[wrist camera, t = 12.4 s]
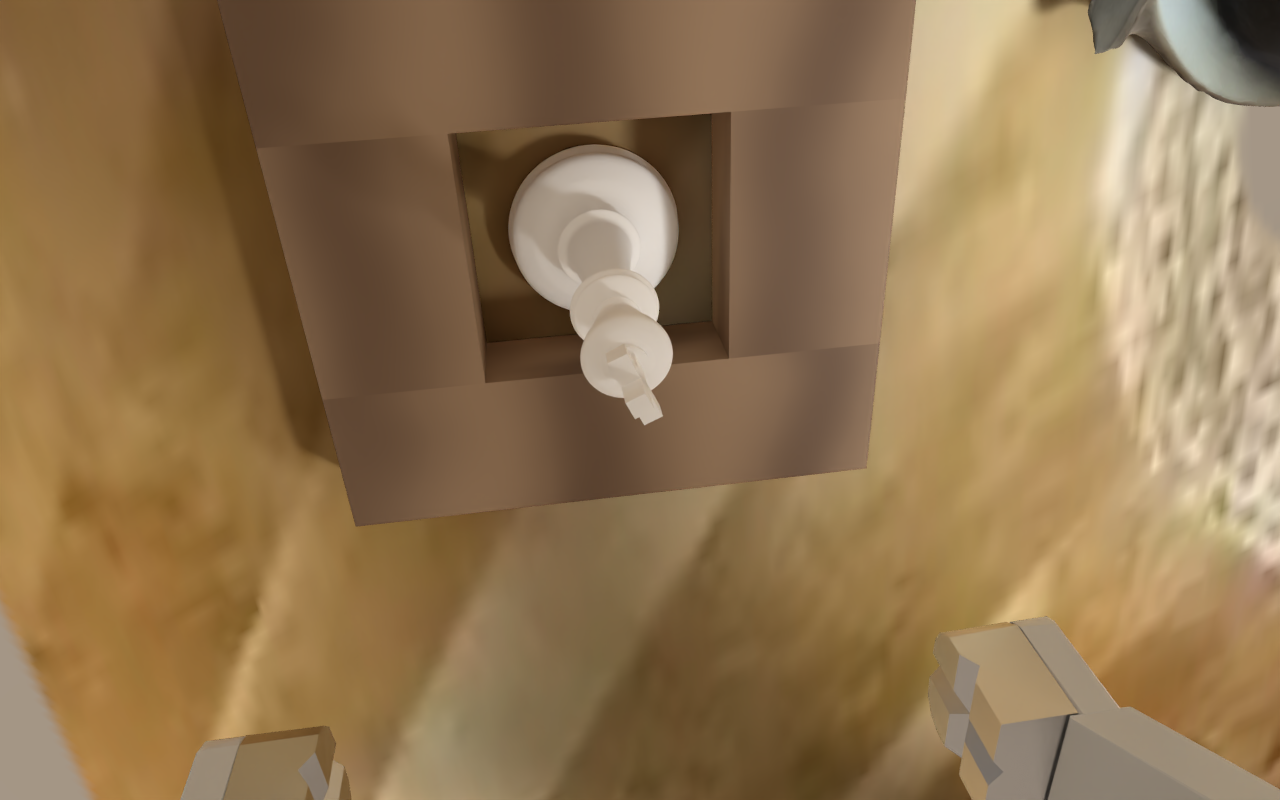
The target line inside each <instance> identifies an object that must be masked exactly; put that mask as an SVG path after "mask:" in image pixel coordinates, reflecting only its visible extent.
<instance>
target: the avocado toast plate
mask: <svg viewBox="0 0 1280 800" xmlns="http://www.w3.org/2000/svg"><path fill="white" fill-rule="evenodd" d="M1088 16H1089V19H1090V22H1091V26H1092V30H1093V42H1094V47H1095V54H1097V53H1103V52H1105V51H1108V50H1110V49H1114V48H1118V47H1120V46H1121V45H1122V44H1123V42H1124V41H1125V39H1126V38H1127V37H1128V35H1130V34H1136V35H1138V36H1140V37H1141V38H1143V39H1144V40H1145V41H1147V42H1148V43H1149V44H1150V45H1151V46H1152V47H1153V48H1154V49H1155V50H1156V51H1157V52H1158V54H1159V55H1160V56H1161V57H1162V58H1163V59H1164V61H1165V62H1166V63H1167V64H1168V65H1169V66H1170V67H1172V68H1173V69H1174V70H1175V71H1176V72H1177V74H1178V75H1179V76H1180V77H1181V78H1182V79H1183V80H1184V81H1186V82H1187V83H1189V84H1190V85H1192V86H1193V87H1194V88H1195V89H1196V90H1198V91H1204V92H1205V93H1207V94H1208V95H1210V96H1211V97H1213V98H1215V99H1217V100H1220V101H1223V102H1225V103H1231V104H1237V105H1246V106H1265V107H1274V106H1280V0H1091V2H1090V4H1089V9H1088Z"/></svg>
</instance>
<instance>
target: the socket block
mask: <svg viewBox="0 0 1280 800" xmlns="http://www.w3.org/2000/svg"><path fill="white" fill-rule="evenodd" d="M217 2H218V6H219V10H220V13H221V17H222V21H223V25H224V28H225V32H226V36H227V40H228V44H229V47H230V51H231V55H232V59H233V63H234V66H235V70H236V74H237V78H238V82H239V85H240V89H241V93H242V97H243V101H244V104H245V108H246V112H247V116H248V120H249V123H250V127H251V131H252V135H253V138H254V142H255V146H256V150H257V154H258V157H259V161H260V165H261V169H262V173H263V176H264V180H265V184H266V188H267V192H268V195H269V199H270V203H271V207H272V211H273V214H274V218H275V222H276V226H277V230H278V233H279V237H280V241H281V245H282V249H283V252H284V256H285V260H286V264H287V267H288V271H289V275H290V279H291V283H292V286H293V290H294V294H295V298H296V302H297V305H298V309H299V313H300V317H301V321H302V324H303V328H304V332H305V336H306V340H307V343H308V347H309V351H310V355H311V359H312V362H313V366H314V370H315V374H316V377H317V381H318V385H319V389H320V393H321V396H322V400H323V404H324V408H325V412H326V415H327V419H328V423H329V427H330V431H331V434H332V438H333V442H334V446H335V450H336V453H337V457H338V461H339V465H340V469H341V472H342V476H343V480H344V484H345V487H346V491H347V495H348V499H349V503H350V506H351V510H352V514H353V518H354V522H355V525H356V526H365V525H374V524H382V523H391V522H400V521H409V520H418V519H426V518H435V517H444V516H453V515H461V514H470V513H479V512H488V511H496V510H505V509H514V508H523V507H532V506H540V505H549V504H558V503H567V502H575V501H584V500H593V499H602V498H610V497H619V496H628V495H637V494H646V493H654V492H663V491H672V490H681V489H689V488H698V487H707V486H716V485H724V484H733V483H742V482H751V481H759V480H768V479H777V478H786V477H795V476H803V475H812V474H821V473H830V472H838V471H847V470H856V469H865V468H867V458H868V449H869V439H870V430H871V420H872V411H873V401H874V392H875V383H876V373H877V364H878V354H879V345H880V335H881V326H882V316H883V307H884V298H885V288H886V279H887V269H888V260H889V250H890V241H891V231H892V222H893V213H894V203H895V194H896V184H897V175H898V165H899V156H900V146H901V137H902V128H903V118H904V109H905V99H906V90H907V80H908V71H909V61H910V52H911V42H912V33H913V24H914V14H915V5H916V0H217ZM709 113H711V117H712V321H706V322H696V323H686V324H675V325H665V326H662V327H663V329H664V330H665V331H666V333H667V334H668V336H669V338H670V341H671V344H672V349H673V359H672V364H671V367H670V369H669V372H668V374H667V375H666V377H665V378H664V379H663V381H662V382H661V383H660V384H659V385H658V386H656V387H655V388H654V389H652V390H651V391H652V393H653V394H654V396H655V398H656V400H657V401H658V403H659V405H660V408H661V411H662V415H663V417H661V418H659V419H656V420H654V421H652V422H650V423H648V424H646V425H644V424H643V422H642V421H641V419H640V417H639V418H637V419H635V418H634V417H633V415H632V413H631V412H630V410H629V408H628V407H627V405H626V403H625V399H624V398H617V397H612V396H609V395H606V394H604V393H602V392H600V391H598V390H597V389H595V388H594V387H593V386H592V385H591V384H590V383H589V382H588V380H587V379H586V377H585V375H584V373H583V371H582V368H581V362H580V354H581V348H582V344H583V341H584V340H583V339H582V338H581V337H580V336H579V335H578V334H573V335H563V336H553V337H542V338H532V339H522V340H512V341H501V342H491V343H487V342H486V335H485V328H484V322H483V315H482V308H481V301H480V294H479V288H478V281H477V274H476V267H475V261H474V254H473V247H472V240H471V234H470V227H469V220H468V213H467V207H466V200H465V193H464V186H463V180H462V173H461V166H460V159H459V152H458V146H457V139H456V133H463V132H476V131H489V130H502V129H515V128H528V127H541V126H554V125H567V124H580V123H593V122H606V121H619V120H632V119H644V118H657V117H670V116H683V115H696V114H709Z"/></svg>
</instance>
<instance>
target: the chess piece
mask: <svg viewBox="0 0 1280 800" xmlns="http://www.w3.org/2000/svg"><path fill="white" fill-rule="evenodd" d="M508 233H509V241H510V246H511V250H512V253H513V256H514V258H515V261H516V263H517V265H518V267H519V269H520V271H521V273H522V275H523V276H524V278H525V279H526V280H527V282H528V283H529V284H530V285H531V287H532V288H533V289H534V290H535V291H536V292H538V293H539V294H540V295H541V296H542V297H544V298H545V299H547V300H548V301H550V302H552V303H554V304H556V305H557V306H560V307H562V308H565V309H568V310H570V318H571V322H572V325H573V327H574V329H575V331H576V332H577V334H578V335H579V336H580V337H581V338H582V339H583V340H584V341H583V344H582V348H581V354H580V362H581V368H582V371H583V373H584V375H585V377H586V379H587V380H588V382H589V383H590V384H591V385H592V386H593V387H594V388H595V389H597V390H598V391H600V392H602V393H604V394H606V395H609V396H612V397H617V398H624V399H625V403H626V405H627V407H628V408H629V410H630V412H631V413H632V415H633V417H634V418H635V419H637V418H639V417H640V419H641V421H642V422H643V424H644V425H646V424H648V423H650V422H652V421H654V420H656V419H659V418H661V417H663V415H662V411H661V408H660V405H659V403H658V401H657V400H656V398H655V396H654V394H653V393H652V391H651V390H652V389H654V388H655V387H656V386H658V385H659V384H660V383H661V382H662V381H663V379H664V378H665V377H666V375H667V374H668V372H669V369H670V367H671V364H672V359H673V349H672V344H671V341H670V338H669V336H668V334H667V333H666V331H665V330H664V329H663V327H662V326H661V325H660V324H659V323H657V319H658V315H659V300H658V296H657V294H656V291H655V289H654V288H655V287H656V286H657V285H658V284H659V283H660V282H661V280H662V279H663V278H664V276H665V275H666V273H667V272H668V270H669V268H670V266H671V264H672V262H673V259H674V256H675V253H676V250H677V245H678V238H679V224H678V213H677V208H676V204H675V200H674V198H673V195H672V193H671V190H670V188H669V186H668V185H667V183H666V182H665V180H664V179H663V177H662V176H661V175H660V174H659V172H658V171H657V170H656V169H655V168H654V167H653V166H652V165H650V164H649V163H648V162H647V161H645V160H644V159H642V158H641V157H639V156H638V155H636V154H634V153H632V152H630V151H627V150H624V149H621V148H618V147H614V146H609V145H598V144H592V145H582V146H576V147H572V148H569V149H566V150H563V151H561V152H558V153H556V154H554V155H552V156H551V157H549V158H547V159H546V160H544V161H543V162H541V163H540V164H539V165H538V166H537V167H535V168H534V169H533V170H532V171H531V172H530V173H529V175H528V176H527V177H526V178H525V180H524V181H523V182H522V184H521V185H520V187H519V189H518V191H517V193H516V195H515V197H514V200H513V202H512V206H511V209H510V214H509V223H508Z"/></svg>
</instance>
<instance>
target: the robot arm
mask: <svg viewBox="0 0 1280 800" xmlns="http://www.w3.org/2000/svg"><path fill="white" fill-rule="evenodd" d="M933 654H934V656H935V658H936V659H937V661H938V663H939V665H940V666H939V667H938V668H937V669H936V671H935V672H934V673H933V674H932V675H931V676H930V680H929V690H928V697H929V704H930V710H931V715H932V718H933V721H934V724H935V727H936V730H937V732H938V734H939V736H940V738H941V740H942V742H943V744H944V746H945V747H946V748H948V749H949V750H951V751H952V752H954V753H955V754H957V755H958V756H960V757H961V758H962V759H961V765H960V771H959V776H960V778H961V780H962V782H963V784H964V785H965V787H966V789H967V791H968V793H969V795H970V797H971V799H972V800H1280V789H1278V788H1276V787H1275V786H1273V785H1271V784H1269V783H1267V782H1266V781H1264V780H1262V779H1260V778H1258V777H1257V776H1255V775H1253V774H1251V773H1249V772H1248V771H1246V770H1244V769H1242V768H1240V767H1239V766H1237V765H1235V764H1233V763H1231V762H1230V761H1228V760H1226V759H1224V758H1222V757H1221V756H1219V755H1217V754H1215V753H1213V752H1212V751H1210V750H1208V749H1206V748H1204V747H1202V746H1201V745H1199V744H1197V743H1195V742H1193V741H1192V740H1190V739H1188V738H1186V737H1184V736H1183V735H1181V734H1179V733H1177V732H1175V731H1174V730H1172V729H1170V728H1168V727H1166V726H1165V725H1163V724H1161V723H1159V722H1157V721H1156V720H1154V719H1152V718H1150V717H1148V716H1147V715H1145V714H1143V713H1141V712H1139V711H1138V710H1136V709H1134V708H1132V707H1123V708H1120V707H1119V706H1118V705H1117V704H1116V702H1115V701H1114V700H1113V698H1112V697H1111V696H1110V694H1109V693H1108V692H1107V690H1106V689H1105V688H1104V686H1103V685H1102V684H1101V682H1100V681H1099V680H1098V678H1097V677H1096V676H1095V674H1094V673H1093V672H1092V670H1091V669H1090V668H1089V666H1088V665H1087V664H1086V662H1085V661H1084V660H1083V658H1082V657H1081V656H1080V654H1079V653H1078V652H1077V651H1076V649H1075V648H1074V647H1073V645H1072V644H1071V643H1070V641H1069V640H1068V639H1067V637H1066V636H1065V635H1064V633H1063V632H1062V631H1061V629H1060V628H1059V627H1058V625H1057V624H1056V623H1055V621H1053V620H1052V619H1050V618H1048V617H1047V616H1045V617H1039V618H1032V619H1026V620H1019V621H1013V622H1010V623H1008V622H1004V623H998V624H991V625H985V626H979V627H973V628H967V629H961V630H954V631H948V632H942V633H940V634H939V635H938V637H937V638H936V640H935V645H934V651H933ZM335 747H336V742H335V739H334V737H333V735H332V732H331V730H330V727H328V726H319V727H311V728H303V729H295V730H287V731H279V732H271V733H263V734H254V735H246V736H242V737H235V738H227V739H219V740H212V741H206V742H205V743H204V744H203V746H202V747H201V748H200V750H199V751H198V752H197V753H196V756H195V759H194V762H193V765H192V768H191V771H190V774H189V777H188V779H187V782H186V785H185V788H184V791H183V794H182V797H181V800H351V791H350V785H349V779H348V776H347V773H346V770H345V767H344V766H343V765H341V764H339V763H338V762H336V761H334V760H333V759H334V753H335Z"/></svg>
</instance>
